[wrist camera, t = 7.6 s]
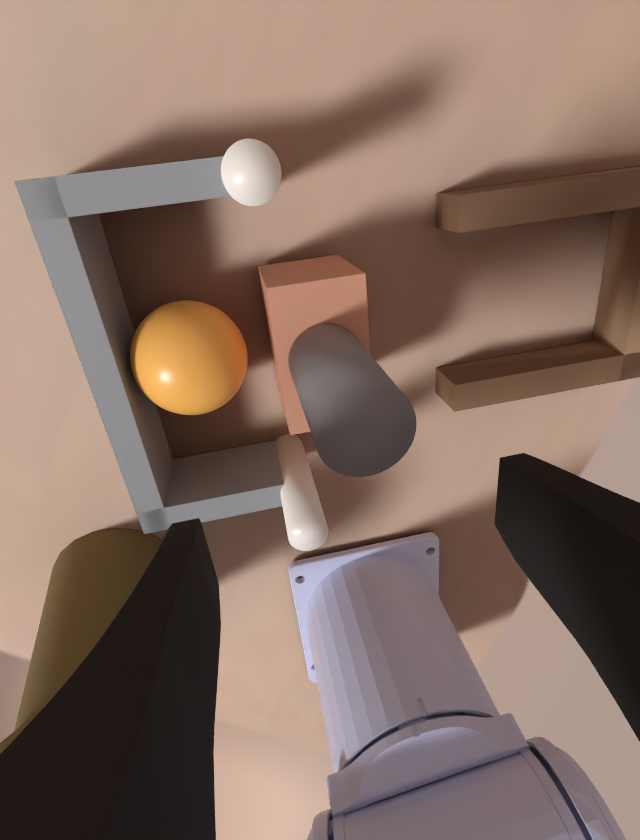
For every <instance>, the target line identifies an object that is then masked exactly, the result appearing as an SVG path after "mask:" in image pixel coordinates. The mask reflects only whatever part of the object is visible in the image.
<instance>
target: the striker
mask: <svg viewBox="0 0 640 840" xmlns="http://www.w3.org/2000/svg"><path fill="white" fill-rule="evenodd" d="M258 270H259V276H260V282H261V288H262V294H263V300H264V306H265V312H266V318H267V324H268V330H269V336H270V342H271V348H272V354H273V360H274V366H275V372H276V378H277V385H278V390H279V394H280V398H281V402H282V406H283V410H284V413H285V417H286V421H287V425H288V429H289V433H290V435H295V434H300V433H305V432H311V434H312V437H313V440H314V443H315V446H316V449H317V451H318V454H319V456H320V457H321V459H322V460H323V461H324V463H325V464H326V465H327V466H328V467H330V468H331V469H333V470H334V471H336V472H338V473H341V474H344V475H348V476H355V477H363V476H370V475H374V474H377V473H380V472H382V471H384V470H386V469H388V468H390V467H391V466H393V465H394V464H395V463H397V462H398V461H399V460H400V459H401V458H402V457H403V456H404V455H405V453H406V452H407V451H408V449H409V448H410V446H411V444H412V442H413V439H414V436H415V432H416V416H415V412H414V409H413V407H412V405H411V403H410V402H409V400H408V399H407V398H406V397H405V396H404V394H403V393H402V392H401V391H400V390H399V388H398V387H397V386H396V385H395V384H394V382H393V381H392V380H391V379H390V378H389V376H388V375H387V374H386V373H385V372H384V370H383V369H382V368H381V367H380V366H379V364H378V363H377V362H376V361H375V360H374V358H373V357H372V356H371V351H370V336H369V320H368V304H367V289H366V273H364V272H363V271H361V270H360V269H358V268H357V267H355V266H354V265H352V264H351V263H349V262H348V261H346V260H345V259H343V258H342V257H341V256H339V255H331V256H324V257H317V258H310V259H303V260H297V261H290V262H283V263H276V264H269V265H262V266H258Z"/></svg>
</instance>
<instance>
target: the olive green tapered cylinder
mask: <svg viewBox="0 0 640 840" xmlns="http://www.w3.org/2000/svg"><path fill="white" fill-rule="evenodd" d="M161 541H162V540H160V539H159V538H157V537H155V536H152V535H149V534H144V533H143V532H140V531H137V530H127V529H109V530H103V531H96V532H92V533H90V534H88V535H85V536H83V537H81V538H78V539H76V540H74V541H73V542H72V543H71V544H70V545H68V546H67V547H66V548H65V549H64V550H63V551H62V552H60V554H59V556H58V558H57V560H56V562H55V564H54V566H53V569H52V574H51V578H50V582H49V586H48V591H47V595H46V599H45V603H44V608H43V612H42V616H41V620H40V624H39V629H38V633H37V637H36V641H35V646H34V650H33V654H32V658H31V663H30V667H29V671H28V675H27V679H26V684H25V688H24V692H23V697H22V701H21V705H20V710H19V713H18V718H17V722H16V726H15V731H14V732H13V733H12V734H11V735H9V736H8V737H7V738H6V739H4V740H3V741H2V742H1V743H0V754H1V753H2V752H3V751H4V750H5V749H6V748H7V747H8V746H9V745H10V744H11V743H12V742H13V740H14V739H15V738H16V737H17V736H18V735H19V734H20V733H21V732H22V731H23V730H24V729H25V727H26V726H27V725H28V724H29V723H30V722H31V721H32V720H33V719H34V718H35V716H36V715H37V714H38V713H39V712H40V711H41V710H42V709H43V708H44V707H45V706H46V704H47V703H48V702H49V701H50V700H51V699H52V698H53V697H54V695H55V694H56V693H57V692H58V691H59V690H60V689H61V687H62V686H63V685H64V684H65V683H66V681H67V680H68V679H69V678H70V676H71V675H72V674H73V673H74V671H75V670H76V669H77V668H78V667H79V665H80V664H81V663H82V661H83V660H84V659H85V658H86V656H87V655H88V654H89V652H90V651H91V650H92V648H93V647H94V646H95V644H96V643H97V642H98V640H99V639H100V638H101V636H102V635H103V633H104V632H105V630H106V629H107V628H108V626H109V625H110V623H111V622H112V620H113V619H114V617H115V616H116V614H117V613H118V612H119V610H120V609H121V607H122V606H123V604H124V603H125V601H126V600H127V598H128V597H129V595H130V593H131V592H132V590H133V588H134V587H135V585H136V584H137V582H138V580H139V579H140V577H141V576H142V574H143V572H144V571H145V569H146V567H147V566H148V564H149V562H150V560H151V559H152V557H153V555H154V553H155V552H156V550H157V548H158V546H159V545H160V543H161Z"/></svg>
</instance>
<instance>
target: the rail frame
mask: <svg viewBox="0 0 640 840" xmlns="http://www.w3.org/2000/svg"><path fill="white" fill-rule="evenodd" d="M608 211H613V215H612V221H611V227H610V233H609V240H608V246H607V252H606V258H605V264H604V270H603V276H602V282H601V288H600V295H599V301H598V307H597V313H596V319H595V325H594V331H593V337H592V341H587V342H581V343H575V344H569V345H564V346H558V347H552V348H547V349H541V350H535V351H530V352H524V353H518V354H513V355H507V356H501V357H496V358H490V359H484V360H478V361H473V362H467V363H461V364H456V365H450V366H444V367H439V368H436V393H437V394H438V395H439V396H440V397H441V398H442V399H443V400H444V401H445V402H446V403H447V404H448V405H449V406H450V407H451V408H452V409H453V410H454V412H455V411H460V410H466V409H471V408H476V407H482V406H487V405H493V404H498V403H503V402H509V401H514V400H519V399H525V398H530V397H535V396H541V395H546V394H551V393H557V392H562V391H567V390H573V389H578V388H583V387H589V386H594V385H600V384H605V383H610V382H616V381H621V380H626V379H632V378H637V377H640V166H637V167H629V168H622V169H614V170H607V171H600V172H592V173H585V174H577V175H570V176H562V177H555V178H548V179H540V180H533V181H525V182H518V183H511V184H503V185H496V186H488V187H481V188H473V189H466V190H459V191H451V192H444V193H437V224H436V228H439V229H444V230H448V231H452V232H456V233H463V232H470V231H477V230H484V229H491V228H498V227H505V226H511V225H518V224H525V223H532V222H539V221H546V220H553V219H560V218H567V217H574V216H580V215H587V214H594V213H601V212H608Z"/></svg>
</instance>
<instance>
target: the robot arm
mask: <svg viewBox="0 0 640 840" xmlns="http://www.w3.org/2000/svg"><path fill="white" fill-rule="evenodd" d="M495 526H496V527H497V529H498V531H499V533H500V535H501V536H502V538H503V540H504V542H505V544H506V545H507V547H508V549H509V550H510V552H511V554H512V556H513V557H514V559H515V560H516V562H517V563H518V564H519V566H520V567H521V569H522V570H523V571H524V573H525V574H526V575H527V577H528V578H529V579H530V581H531V582H532V583H533V584H534V586H535V587H536V588H537V590H538V591H539V592H540V594H541V595H542V596H543V598H544V599H545V600H546V601H547V603H548V604H549V605H550V607H551V608H552V609H553V611H554V612H555V613H556V615H557V616H558V617H559V618H560V620H561V621H562V622H563V624H564V625H565V626H566V627H567V629H568V630H569V631H570V632H571V634H572V635H573V637H574V638H575V639H576V641H577V642H578V643H579V645H580V646H581V648H582V649H583V650H584V652H585V653H586V655H587V656H588V657H589V659H590V661H591V662H592V664H593V666H594V667H595V668H596V670H597V672H598V674H599V675H600V677H601V678H602V680H603V681H604V683H605V685H606V686H607V688H608V689H609V691H610V693H611V694H612V696H613V697H614V699H615V701H616V702H617V704H618V706H619V707H620V709H621V711H622V712H623V714H624V716H625V718H626V719H627V721H628V723H629V724H630V726H631V728H632V729H633V731H634V733H635V734H636V736H637V738H638V740H639V741H640V503H639V502H636V501H634V500H631V499H629V498H627V497H624V496H622V495H619V494H617V493H614V492H612V491H610V490H608V489H605V488H603V487H601V486H599V485H596V484H594V483H592V482H589V481H587V480H585V479H583V478H581V477H578V476H576V475H574V474H572V473H570V472H567V471H565V470H563V469H561V468H559V467H556V466H554V465H552V464H549V463H547V462H545V461H543V460H540V459H538V458H535V457H533V456H530V455H528V454H525V453H522V454H517V455H512V456H507V457H502V458H500V464H499V476H498V489H497V501H496V514H495ZM431 547H432V548H431ZM428 548H431V549H429V550H427V549H428ZM288 571H289V576H290V581H291V587H292V592H293V597H294V602H295V607H296V613H297V618H298V623H299V628H300V633H301V639H302V644H303V649H304V654H305V659H306V665H307V670H308V675H309V679H310V681H312V682H314V683H317V685H318V690H319V695H320V701H321V706H322V712H323V717H324V722H325V728H326V733H327V738H328V744H329V749H330V755H331V759H332V765H333V770H334V774H332V775H329V776H328V777H327V778H326V782H327V788H328V794H329V800H330V805H331V810H330V809H329V810H326V811H323V812H320V813H319V814H317V815H316V816H315V818H314V821H313V824H312V829H311V831H310V833H309V836H308V838H307V840H626V838H625V837H624V835H623V833H622V831H621V829H620V827H619V826H618V824H617V822H616V820H615V819H614V817H613V815H612V813H611V812H610V810H609V808H608V807H607V805H606V804H605V802H604V800H603V798H602V797H601V795H600V794H599V792H598V791H597V789H596V788H595V786H594V785H593V783H592V782H591V780H590V779H589V778H588V776H587V775H586V774H585V772H584V771H583V770H582V768H581V767H580V766H579V765H578V764H577V762H576V761H575V760H574V759H573V758H572V757H571V756H570V755H568V754H567V753H566V752H565V751H563V750H561V749H560V748H558V747H556V746H554V745H553V744H552V743H551V742H550V741H548V740H546V739H545V738H543V737H534V738H532V739H528V740H525V738H524V736H523V734H522V732H521V731H520V728H519V727H518V725H517V723H516V721H515V719H514V717H513V715H512V714H510V713H508V714H504V715H501V716H500V714H499V712H498V710H497V708H496V707H495V705H494V703H493V701H492V699H491V697H490V695H489V693H488V691H487V689H486V687H485V685H484V683H483V682H482V679H481V677H480V676H479V674H478V672H477V670H476V668H475V666H474V664H473V662H472V660H471V658H470V656H469V654H468V652H467V650H466V648H465V646H464V644H463V642H462V640H461V639H460V637H459V635H458V633H457V631H456V629H455V627H454V625H453V623H452V621H451V619H450V617H449V615H448V613H447V611H446V609H445V607H444V605H443V604H442V602H441V600H440V598H439V539H438V537H437V535H436V534H435V533H432V532H428V533H423V534H418V535H414V536H409V537H404V538H400V539H395V540H390V541H386V542H381V543H376V544H372V545H367V546H362V547H358V548H353V549H348V550H344V551H339V552H334V553H330V554H325V555H320V556H316V557H311V558H306V559H302V560H297V561H294V562H292V563H291V564H290V565H289V568H288ZM298 576H303V577H301V578H297V577H298ZM220 631H221V620H220V599H219V583H218V580H217V576H216V573H215V569H214V566H213V563H212V559H211V556H210V552H209V549H208V545H207V542H206V539H205V535H204V532H203V528H202V525H201V521H200V518H197V519H192V520H187V521H182V522H177V523H172V524H171V526H170V527H169V528H168V530H167V532H166V534H165V535H164V537H163V539H162V541H161V543H160V545H159V546H158V548H157V550H156V552H155V553H154V555H153V557H152V559H151V560H150V562H149V564H148V566H147V567H146V569H145V571H144V572H143V574H142V576H141V577H140V579H139V580H138V582H137V584H136V585H135V587H134V588H133V590H132V592H131V593H130V595H129V597H128V598H127V600H126V601H125V603H124V604H123V606H122V607H121V609H120V610H119V612H118V613H117V614H116V616H115V617H114V619H113V620H112V622H111V623H110V625H109V626H108V628H107V629H106V630H105V632H104V633H103V635H102V636H101V638H100V639H99V640H98V642H97V643H96V644H95V646H94V647H93V648H92V650H91V651H90V652H89V654H88V655H87V656H86V658H85V659H84V660H83V661H82V663H81V664H80V665H79V667H78V668H77V669H76V670H75V671H74V673H73V674H72V675H71V676H70V678H69V679H68V680H67V681H66V683H65V684H64V685H63V686H62V687H61V689H60V690H59V691H58V692H57V693H56V694H55V695H54V697H53V698H52V699H51V700H50V701H49V702H48V703H47V704H46V706H45V707H44V708H43V709H42V710H41V711H40V712H39V713H38V714H37V715H36V716H35V718H34V719H33V720H32V721H31V722H30V723H29V724H28V725H27V726H26V727H25V729H24V730H23V731H22V732H21V733H20V734H19V735H18V736H17V737H16V738H15V739H14V740H13V742H12V743H11V744H10V745H9V746H8V747H7V748H6V749H5V750H4V751H3V752H2V753H1V754H0V840H216V832H215V801H214V760H213V749H214V722H215V708H216V693H217V678H218V663H219V647H220Z"/></svg>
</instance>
